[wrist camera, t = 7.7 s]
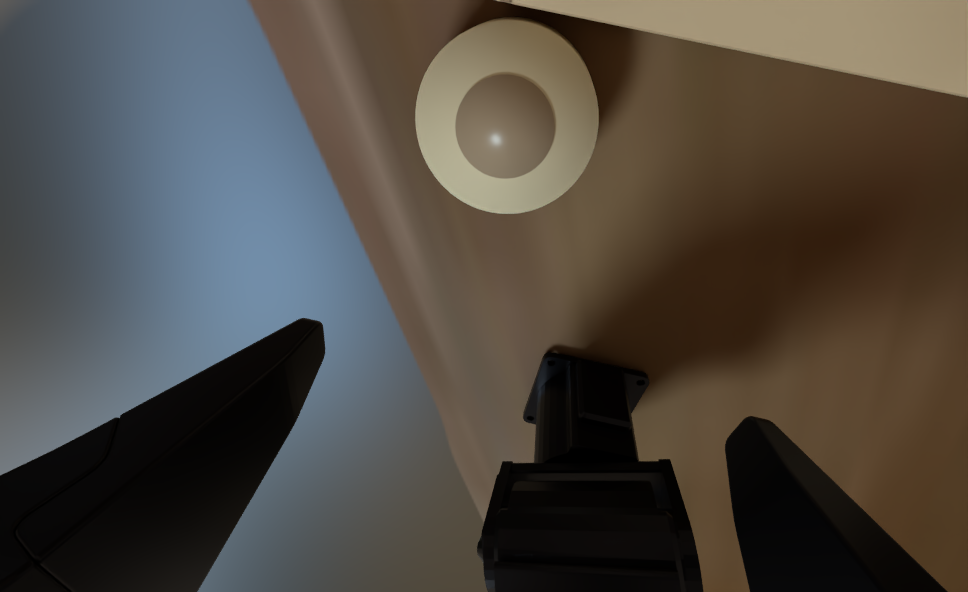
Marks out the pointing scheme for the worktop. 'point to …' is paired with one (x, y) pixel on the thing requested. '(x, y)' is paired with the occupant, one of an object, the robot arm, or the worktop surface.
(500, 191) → the cream dish
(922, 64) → the flap
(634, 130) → the worktop surface
